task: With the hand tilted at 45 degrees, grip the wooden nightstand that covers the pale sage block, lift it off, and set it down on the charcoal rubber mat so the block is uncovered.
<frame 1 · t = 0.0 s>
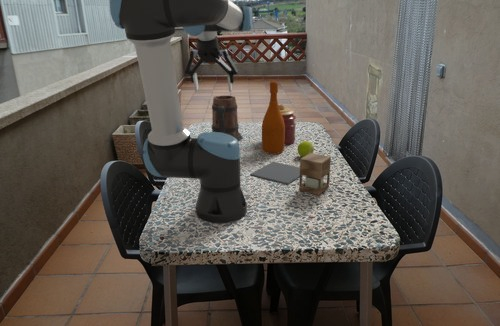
hand: (213, 89, 155), 28 cm above the table, tool tilted 20°, fingers open, 13 cm apart
wooden nightstand: (314, 188, 132), on the table
mat: (280, 172, 146), on the table
block: (314, 188, 132), on the table
canister: (281, 142, 184), on the table
tankard: (224, 140, 188), on the table
tennis ball: (305, 157, 163), on the table
wine bottle: (273, 151, 171), on the table
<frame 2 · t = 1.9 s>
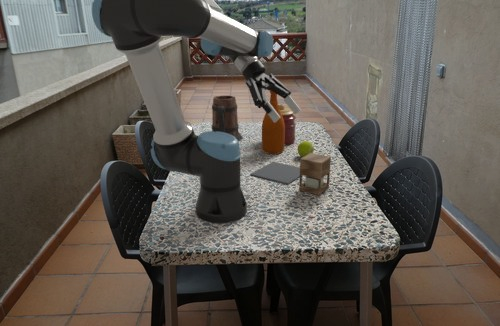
hand: (288, 116, 130), 24 cm above the table, tool tilted 45°, fingers open, 13 cm apart
nothing on the table moved.
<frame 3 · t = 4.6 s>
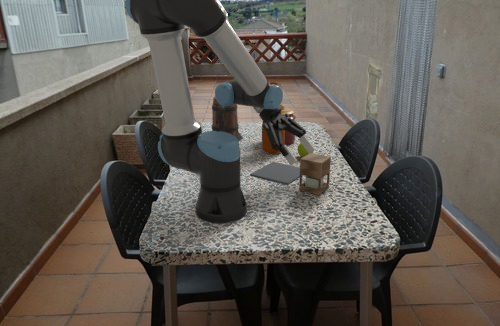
hand: (303, 157, 134), 9 cm above the table, tool tilted 45°, fingers open, 13 cm apart
nothing on the table moved.
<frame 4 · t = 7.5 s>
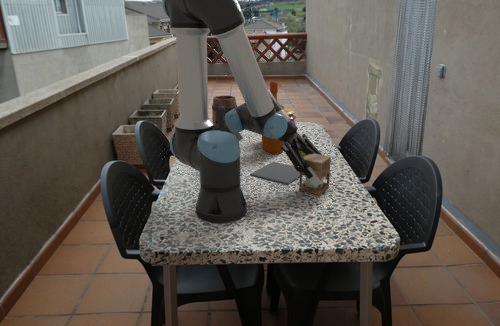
hand: (324, 181, 129), 4 cm above the table, tool tilted 45°, fingers closed on wooden nightstand, 7 cm apart
wooden nightstand: (314, 188, 132), on the table, touching gripper
everything else where it was.
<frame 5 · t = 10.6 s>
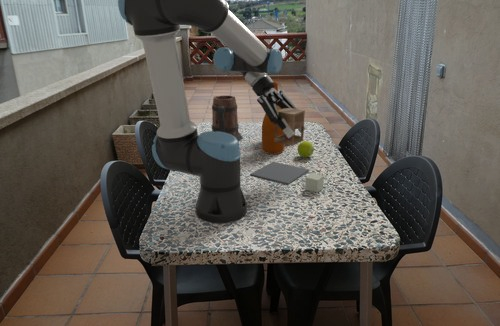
hand: (297, 133, 136), 17 cm above the table, tool tilted 45°, fingers closed on wooden nightstand, 7 cm apart
wooden nightstand: (288, 141, 139), point 13 cm above the table, touching gripper
everything else where it was.
when the fingers open (6 cm above the table, at t = 14.0 s): wooden nightstand drops 1 cm, resting on mat.
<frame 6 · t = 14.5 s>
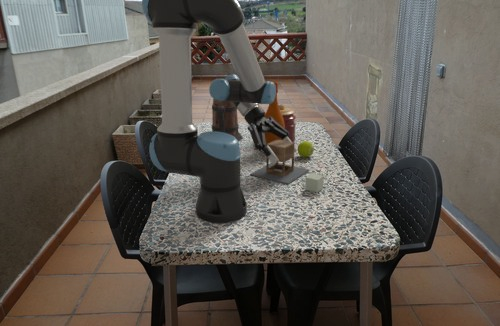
hand: (286, 157, 143), 7 cm above the table, tool tilted 45°, fingers open, 13 cm apart
wooden nightstand: (280, 171, 146), resting on mat
everything else where it was.
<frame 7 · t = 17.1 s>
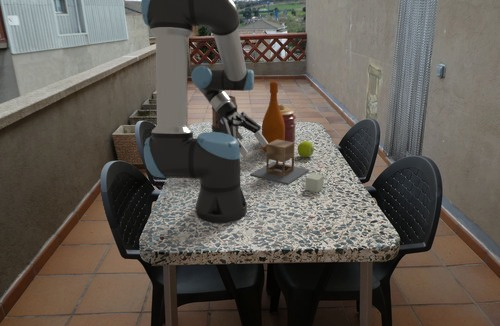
hand: (256, 150, 150), 7 cm above the table, tool tilted 45°, fingers open, 13 cm apart
nothing on the table moved.
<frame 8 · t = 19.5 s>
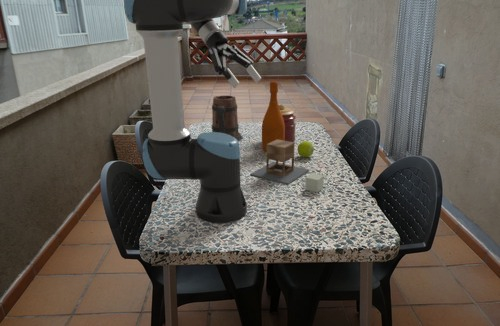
hand: (248, 83, 139), 33 cm above the table, tool tilted 45°, fingers open, 13 cm apart
nothing on the table moved.
at the end: wooden nightstand inside the target area on the mat (0.0 cm from its centre), point 0.5 cm above the mat's base; wooden nightstand tilted 0°; block moved 0.1 cm from its start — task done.
